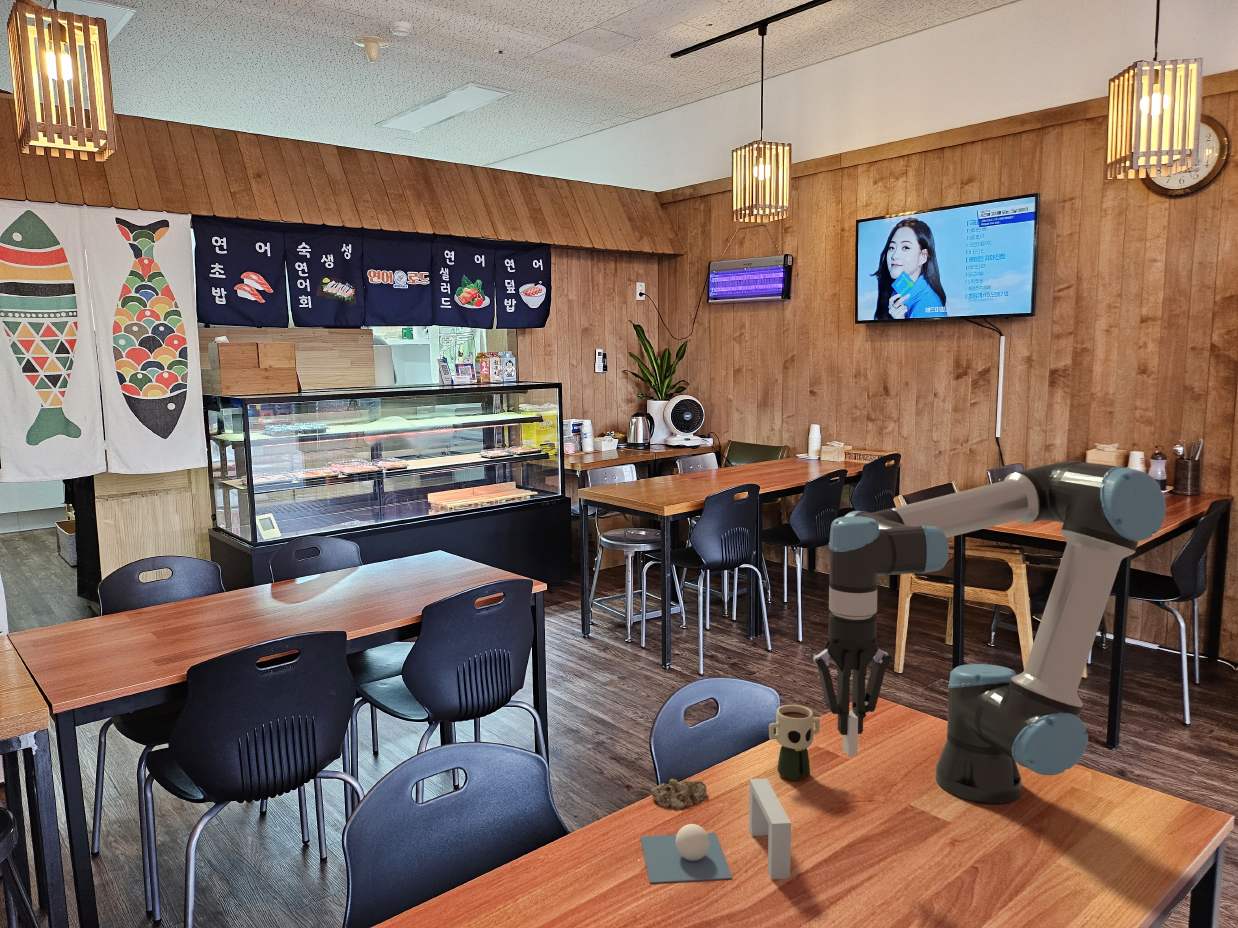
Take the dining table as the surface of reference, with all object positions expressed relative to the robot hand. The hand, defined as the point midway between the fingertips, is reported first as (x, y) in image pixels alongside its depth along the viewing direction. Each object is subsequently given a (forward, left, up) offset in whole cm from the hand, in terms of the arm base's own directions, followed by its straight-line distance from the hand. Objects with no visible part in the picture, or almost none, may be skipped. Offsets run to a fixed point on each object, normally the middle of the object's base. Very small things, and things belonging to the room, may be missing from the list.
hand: (849, 751), depth 140 cm
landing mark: (+28, +1, -17) cm, 32 cm away
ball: (+26, +1, -14) cm, 30 cm away
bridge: (+14, +1, -17) cm, 21 cm away
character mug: (+2, -25, -17) cm, 30 cm away
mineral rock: (+25, -19, -17) cm, 36 cm away
